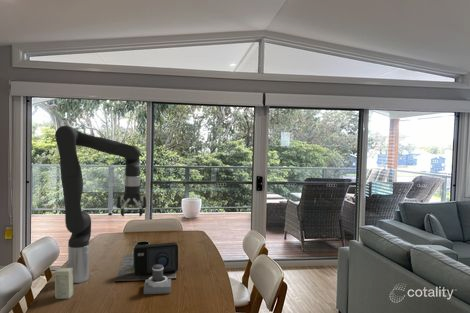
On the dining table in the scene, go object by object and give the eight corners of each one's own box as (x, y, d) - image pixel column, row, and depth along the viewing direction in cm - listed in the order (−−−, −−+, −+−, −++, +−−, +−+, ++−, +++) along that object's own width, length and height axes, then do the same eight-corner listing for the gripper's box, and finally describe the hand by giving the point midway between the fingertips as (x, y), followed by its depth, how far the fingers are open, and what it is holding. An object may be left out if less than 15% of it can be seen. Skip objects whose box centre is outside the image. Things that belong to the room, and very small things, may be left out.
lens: (151, 285, 159) (151, 268, 159) (152, 280, 164) (153, 264, 163) (162, 285, 160) (162, 268, 159) (163, 280, 165) (164, 264, 164)
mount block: (143, 294, 157) (143, 283, 157) (145, 285, 166) (145, 275, 165) (170, 293, 159) (170, 282, 158) (171, 284, 168) (171, 274, 167)
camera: (133, 279, 173) (134, 249, 172) (133, 271, 182) (134, 243, 181) (179, 275, 179) (179, 247, 178) (177, 268, 188) (177, 241, 187)
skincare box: (73, 294, 154) (73, 267, 154) (69, 299, 150) (69, 271, 149) (58, 294, 154) (59, 267, 153) (54, 298, 150) (54, 271, 149)
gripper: (116, 185, 172) (115, 217, 173) (145, 185, 174) (145, 217, 175) (119, 183, 180) (118, 214, 180) (147, 183, 182) (146, 214, 183)
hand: (131, 216), depth 178 cm, fingers open, 8 cm apart
